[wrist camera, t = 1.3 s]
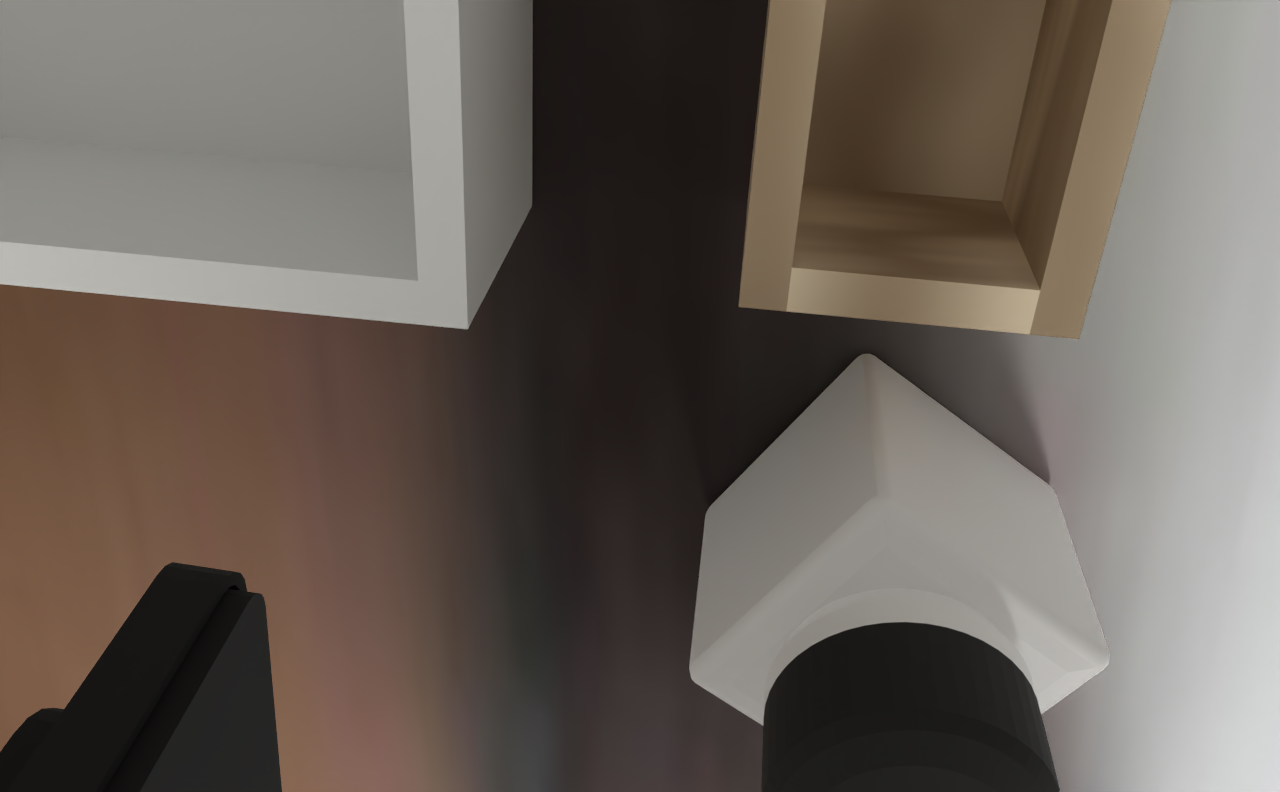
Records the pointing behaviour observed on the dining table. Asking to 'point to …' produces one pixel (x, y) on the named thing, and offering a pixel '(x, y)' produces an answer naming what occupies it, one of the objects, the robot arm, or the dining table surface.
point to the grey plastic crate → (267, 151)
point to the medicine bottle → (892, 600)
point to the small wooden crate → (943, 157)
